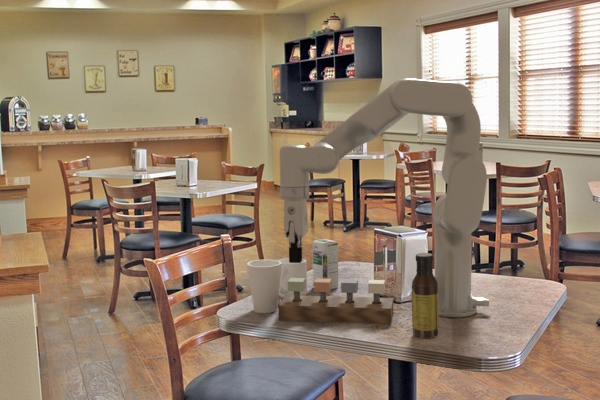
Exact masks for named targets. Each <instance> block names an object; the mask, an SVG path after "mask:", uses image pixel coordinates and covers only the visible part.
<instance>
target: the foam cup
mask: <svg viewBox="0 0 600 400" xmlns="http://www.w3.org/2000/svg"><path fill="white" fill-rule="evenodd" d="M278 260H279V259H278ZM278 260H277V259H265V258H263V259H256V260H255V259H254V260H250V261H248V262H247V263H246V268H247V269H246V271H247V275H248V281H249V287H250V293H251V300H252V303H253V304H252V305H253V310H254V312H255V313H259V314H270V313H271V314H272V313H275V312H277V311H278V305H279V297H280V295H279V288H280V279H281V272H282V262H281V261H278Z"/></svg>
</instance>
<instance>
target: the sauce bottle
mask: <svg viewBox="0 0 600 400" xmlns="http://www.w3.org/2000/svg"><path fill="white" fill-rule="evenodd" d="M433 261H434V254H432V253H431V252H430V253H428V252H419V253H416V254H415V263H416V270H415V271H416V274H415V276H414V277H413V279H412V281H411V282H412V283H411V318H412V320H411V321H412V322H411V325H412V334H413V335H414V336H415V337H416V338H419V339H429V340H431V339H433V338H437V336H438V335H439V327H440V324H439V321H440V320H439V318H440V316H439V314H438V283H437V280H436V278H435V274H434V272H433V271H434V269H433Z"/></svg>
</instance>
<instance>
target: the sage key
mask: <svg viewBox="0 0 600 400" xmlns="http://www.w3.org/2000/svg"><path fill="white" fill-rule="evenodd" d="M305 288H306V285H305V278H290V279H289V281H288V291H294V302H300V292H303V291H304V289H305Z"/></svg>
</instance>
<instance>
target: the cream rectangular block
mask: <svg viewBox="0 0 600 400" xmlns="http://www.w3.org/2000/svg"><path fill="white" fill-rule="evenodd" d="M367 285H368V287H367V291H368V294H373V298H374V304H380V298H381V297H380V296H381V295H380V294H382V295H383V294H385V291H386V279H369V280H368V283H367Z"/></svg>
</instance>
